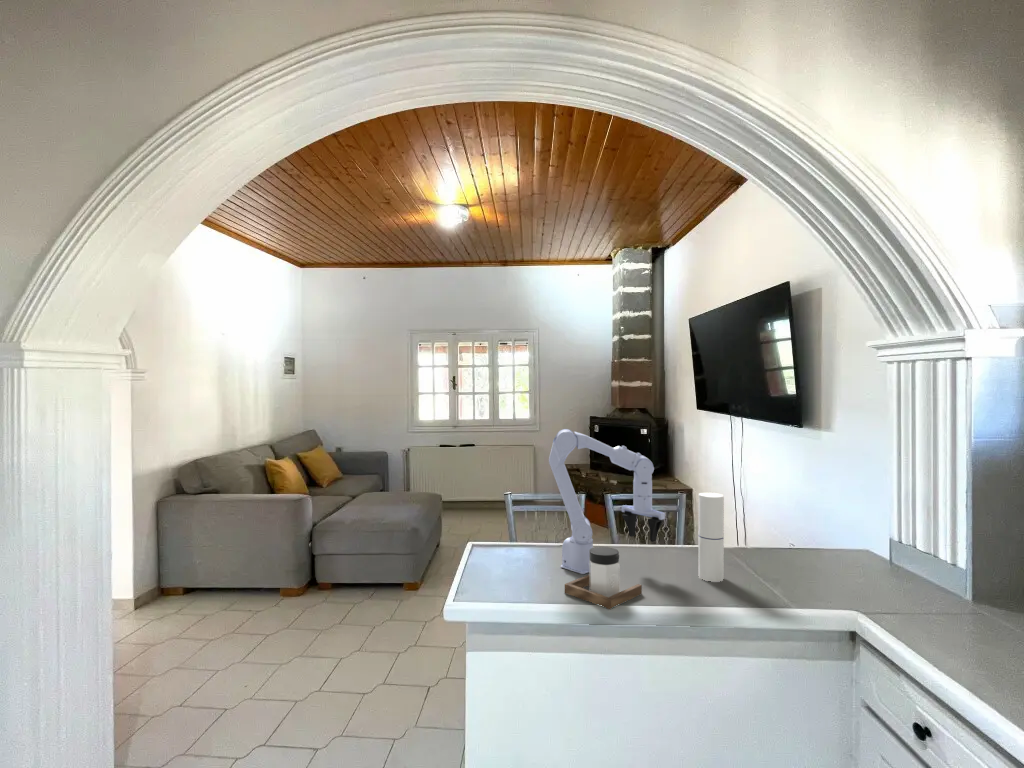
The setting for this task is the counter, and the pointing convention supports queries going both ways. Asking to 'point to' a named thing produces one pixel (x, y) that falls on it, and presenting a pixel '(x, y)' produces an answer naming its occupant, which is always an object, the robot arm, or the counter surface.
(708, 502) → the cylindrical container
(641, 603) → the counter surface
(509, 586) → the counter surface
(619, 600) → the bay
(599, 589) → the jar
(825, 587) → the counter surface
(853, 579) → the counter surface
